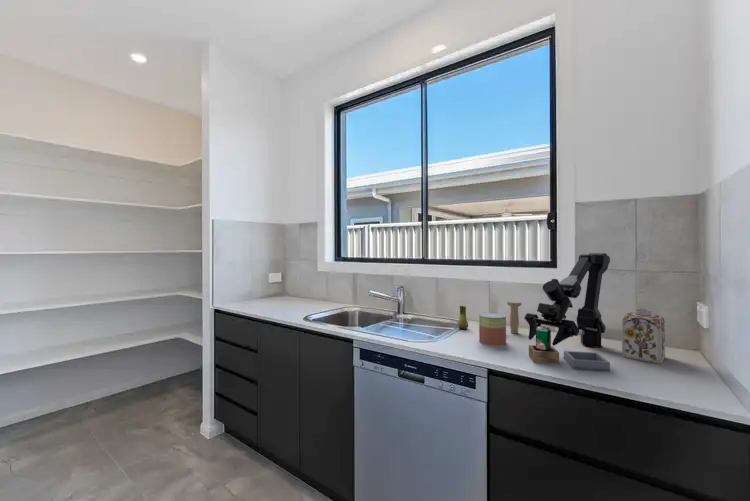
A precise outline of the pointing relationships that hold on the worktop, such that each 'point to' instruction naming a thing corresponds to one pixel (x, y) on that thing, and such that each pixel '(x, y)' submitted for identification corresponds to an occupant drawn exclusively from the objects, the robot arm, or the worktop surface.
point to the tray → (586, 361)
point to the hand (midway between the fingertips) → (541, 341)
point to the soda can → (543, 338)
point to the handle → (514, 316)
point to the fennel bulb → (463, 318)
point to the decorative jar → (643, 336)
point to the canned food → (492, 329)
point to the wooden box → (544, 355)
